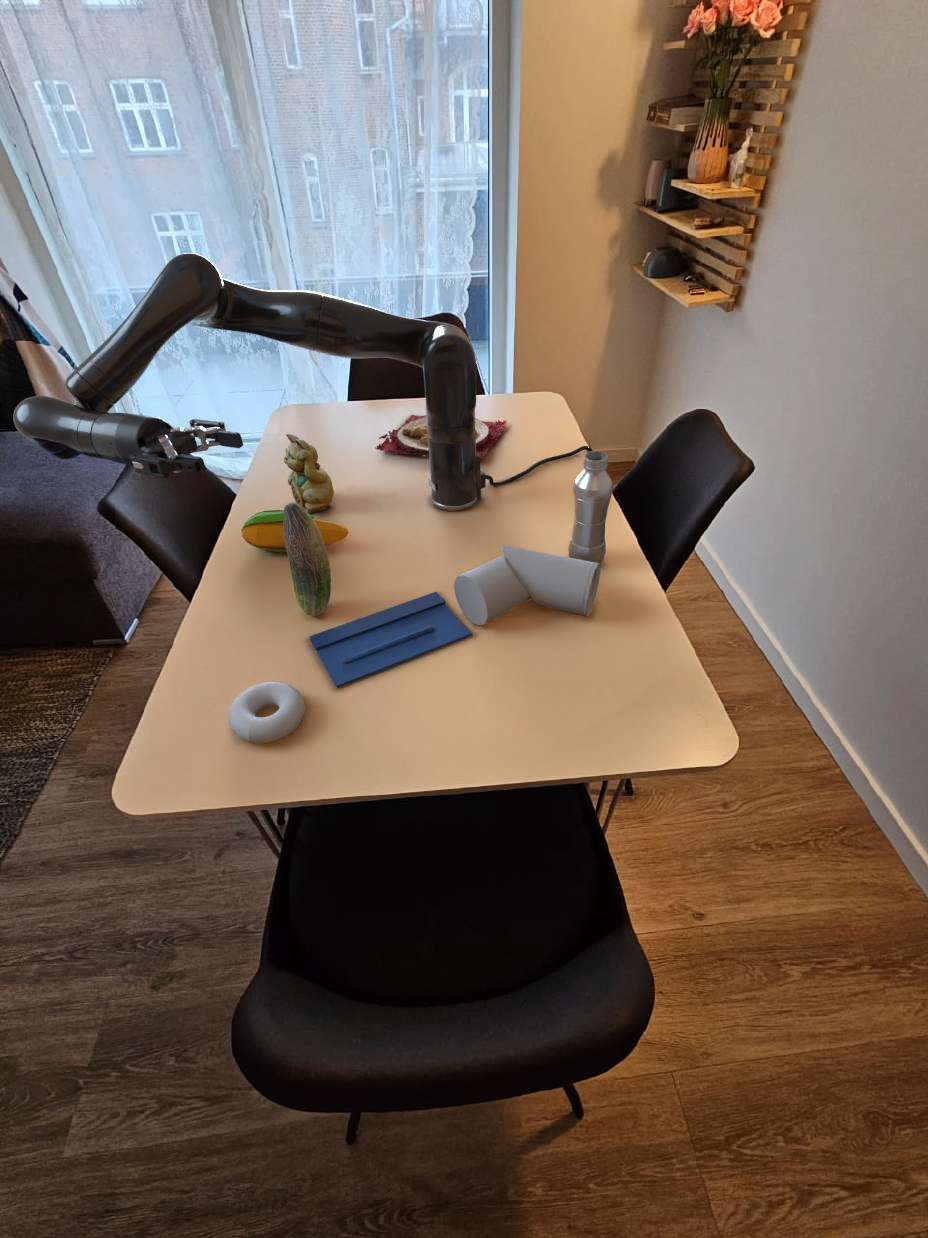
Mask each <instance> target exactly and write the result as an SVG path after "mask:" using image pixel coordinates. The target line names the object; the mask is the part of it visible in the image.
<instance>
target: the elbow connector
mask: <svg viewBox="0 0 928 1238" xmlns="http://www.w3.org/2000/svg"><path fill="white" fill-rule="evenodd" d="M501 551H502V553H503V554H502V555H499V556H498V557H496V558H493V559H491V560H489V561H487V562H485V563H483V564H481V565H478V566H477V567H475V568H472V569H470V570H468V571H466V572H464V573H462V574H460V575H458V576H456V578H455V579H454V583H453V588H454V597H455V599H456V602H457V604H458V606H459V608H460V610H461V612H462V613H463V614H464V616H465V617H466V619H468V620H469V621H470V622H471V623H473V624H474V625H475V626H483V625H485V624H487V623H489V622H491V621H493V620H495V619H497V618H499V617H500V616H503V615H504V614H507V613H508V612H511V611H512V610H514V609H516V608H518V607H520V606H522V605H524V604H526V603H527V602H529V601H531V600H533V601H534V602H535V603H536V604H537V605H538V606H540V607H544V608H548V609H554V610H557V611H562V612H568V613H571V614H575V615H581V616H585V617H589V616H590V614H591V613H592V610H593V607H594V604H595V601H596V597H597V594H598V589H599V584H600V578H601V564H600V563H595V562H590V561H584V560H579V559H574V558H570V557H569V556H565V555H558V554H553V553H548V552H542V551H537V550H532V549H527V548H522V547H517V546H513V545H512V546H511V545H506V544H501Z"/></svg>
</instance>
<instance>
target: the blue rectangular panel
mask: <svg viewBox="0 0 928 1238" xmlns="http://www.w3.org/2000/svg"><path fill="white" fill-rule="evenodd" d="M472 636H473V634H472V632H471V631H470V630H469V629H468V627H467V626H466V625H465V624H464V623H463V622H462V620H461V619H460V618H459V617H458V616H457V615H456V614H455V613H454V611H452V609H451V608H450V607H449V606H448V605H447V604H446V601H445V599H444V598H443V597H442V596H441V595H440V593H439V592H438V591H434V592H430V593H428V594H425V595H422V596H419V597H416V598H414V599H411V600H409V601H405V602H403V603H400V604H397V605H394V606H392V607H388V608H386V609H383V610H380V611H377V612H375V613H372V614H369V615H366V616H363V617H359V618H357V619H355V620H352V621H349V622H346V623H343V624H340V625H338V626H335V627H332V628H329V629H327V630H323V631H321V632H318V633H315V634H312V635H309V636H308V639H309V641H310V643H311V645H312V647H313V648H314V650H315V652H316V654H317V655H318V657H319V659H320V661H321V662H322V664H323V667H324V668H325V669H326V671H327V673H328V675H329V677H330V679H331V680H332V682H333V684H334V685H335V687H336V689H338V688H342V687H344V686H346V685H349V684H353V683H354V682H357V681H359V680H362V679H364V678H367V677H370V676H372V675H375V674H377V673H379V672H383V671H385V670H388V669H390V668H392V667H395V666H398V665H401V664H403V663H406V662H408V661H411V660H413V659H416V658H418V657H421V656H423V655H426V654H428V653H431V652H433V651H434V652H435V651H436V650H440V649H441V648H444V647H446V646H449V645H452V644H454V643H457V642H460V641H462V640H465V639H467V638H470V637H472Z"/></svg>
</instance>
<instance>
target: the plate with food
mask: <svg viewBox="0 0 928 1238" xmlns="http://www.w3.org/2000/svg"><path fill="white" fill-rule="evenodd" d="M507 422H508V421H507V420H505V419H504V420H502V421H500V420H499V419H498V420H495V422H492V421H481V420H479V419H478V418H476V417H475V433H476V454H477V455H479V456H480V460H483V459H484V457H485V455H486V454H487V453H488V451H489V450H491V448H492V447H493V445H495V444H496V443H497V441H499V439H500V437H501V434H502V432H503V431H504V426H506V424H507ZM387 432H388V433H385V434H383V435H381V436H380V437H378V440H381V439H384V441H383V442H382V443H379V444H378V445H376V447H374V449H375V450H379V451H382V452H385V454H386V453H389V452H394V453H397V455H399V456H400V455H401V456H403V455H407V454H408V455H412V456H414V455H416V456H422V457H424V458H427V457H428V458H429V455H426V454H423V453H420V452H417V451H428V452H429V448H428V434H427V421H426V414H425V415H420V416H419V415H415V414H411V415H410V416H409V417H408V418H407V419H406V420H405V422H404V423H403V424H402V425H401V426H399V427H398V428H397V429H392V431H391V430H388V431H387Z"/></svg>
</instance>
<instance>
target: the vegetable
mask: <svg viewBox="0 0 928 1238" xmlns="http://www.w3.org/2000/svg"><path fill="white" fill-rule="evenodd" d="M283 511H284V522H283V532H284V540H285V545H286V549H285V550H287V552H286V555H287V559H288V560H287V561H288V565H289V569H290V574H291V579H292V583H293V589H294V595H295V598H296V601H297V605H298V606H299V608H300V609H301V610H302V612H304V613H305V614H306V615H308V616H312V617H316V616H319V615H321V614H323V612H325V610H327V608H328V606H329V603H330V599H331V594H332V593H331V592H332V591H331V590H332V573H331V572H332V571H331V563H330V558H329V555H328V551H327V547H326V545H325V544H324V541H323V539H322V536H321V534H320V532H319V530H318V528H317V526H316V523H315V522H314V520H313V519H312V518H311V517H310V516H309V515H308V514H309V513H306V512H305V511H304V510H303V509H302V508H301V507H300V506H299V505H298V504H297V503H296V502H289V503H287V504H286V505H285V506H284V509H283Z"/></svg>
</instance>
